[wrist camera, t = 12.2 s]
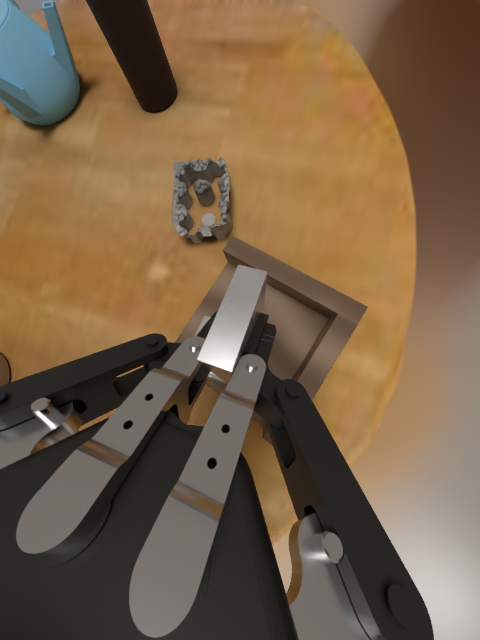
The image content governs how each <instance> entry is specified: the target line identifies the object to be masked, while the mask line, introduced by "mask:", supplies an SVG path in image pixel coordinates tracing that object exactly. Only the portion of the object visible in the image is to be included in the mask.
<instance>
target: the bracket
mask: <svg viewBox="0 0 480 640" xmlns="http://www.w3.org/2000/svg"><path fill="white" fill-rule="evenodd" d="M266 281H267V271H263V270H259V269H254V268H250V267H246V266H242V265H238V267H237V269H236V271H235V273H234V276H233V278H232V280H231V283H230V285H229V287H228V289H227V292H226V294H225V296H224V299H223V301H222V303H221V305H220V308H219V310H218V312H217V315H216V317H215V319H214V321H213V324H212V326H211V328H210V331H209V333H208V335H207V337H206V340H205V342H204V344H203V347H202V349H201V351H200V353H199V356H198V358H197V360H198V361H199V362H201V363H202V364H203V365H204V366H206V367H207V368H208V369H210V370H211V371H210V373H209V375H208V378H211V379H214V380H216V381H219V382H222V383H224V384H227V385H228V383H229V381H230V379H231V376H232V374H233V372H234V370H235V368H236V366H237V364H238V362H239V360H240V358H241V357H242V354H243V350H244V347H245V345H246V343H247V341H248V339H249V336H250V334H251V332H252V330H253V328H254V325H255V323H256V321H257V319H258V316H259V314H260V313H263V309H264V300H265V290H266ZM210 318H211V317H208V316H204V318H203V320H202V322H201V324H200V326H199V329H198V331H197V333H196V335H197V334H198V333H199V331H200V330H201V329H202V328H203V326H204V325H205V324H206V323H207V321H208V320H209V319H210ZM196 335H195V336H196Z"/></svg>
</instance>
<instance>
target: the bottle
mask: <svg viewBox="0 0 480 640" xmlns="http://www.w3.org/2000/svg"><path fill="white" fill-rule="evenodd" d="M86 1H87V3H88V5H89V7H90V9H91V11H92V13H93V15H94V17H95V19H96V21H97V23H98V24H99V26H100V28H101V30H102V32H103V34H104V36H105V38H106V40H107V42H108V44H109V46H110V48H111V50H112V51H113V53H114V55H115V57H116V59H117V61H118V63H119V65H120V67H121V69H122V71H123V73H124V75H125V77H126V78H127V80H128V82H129V84H130V86H131V88H132V90H133V92H134V94H135V96H136V98H137V100H138V102H139V103H140V105H141V107H142V108H144V109H145V110H147V111H150V112H157V111H161V110H163V109H165V108H167V107H168V106H169V105H170V104H171V103H172V102H173V100H174V99H175V96H176V92H177V89H176V83H175V80H174V77H173V74H172V71H171V68H170V66H169V63H168V60H167V57H166V54H165V51H164V48H163V45H162V42H161V39H160V36H159V34H158V31H157V28H156V25H155V22H154V19H153V16H152V13H151V10H150V7H149V5H148V2H147V0H86Z"/></svg>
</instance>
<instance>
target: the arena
mask: <svg viewBox="0 0 480 640" xmlns="http://www.w3.org/2000/svg"><path fill="white" fill-rule="evenodd" d="M223 252H224V254H225V256H226V258H227V261H228V263H227V264H226V266H225V268H224V269H223V271H222V272H221V274H220V275H219V277H218V278H217V280H216V281H215V283H214V284H213V286H212V287H211V289H210V290H209V292H208V293H207V295H206V296H205V298H204V299H203V301H202V302H201V304H200V306H199V307H198V309H197V310H196V312H195V313H194V315H193V316H192V318H191V319H190V321H189V322H188V324H187V325H186V327H185V328H184V330H183V331H182V333H181V334H180V336H179V337H178V339H177V340H176V342H175V343H183V341H184V340H186V339H187V338H190V337H194V336H195V335H196V333H197V331H198V329H199V326H200V324H201V322H202V320H203V318H204V316H208V317H211V316H212V315H213V314H214V313H215V312H216V311H218V310H219V308H220V305H221V303H222V301H223V299H224V296H225V294H226V292H227V289H228V287H229V285H230V283H231V280H232V278H233V276H234V273H235V271H236V269H237V267H238V265H242V266H246V267H250V268H254V269H259V270H263V271H267V281H266V290H265V300H264V309H263V313H264V314H267V315H269V318H268V322H267V323H270V324H273V325H275V327H276V335H275V338H274V342H273V345H272V349H271V352H270V356H269V359H268V367H269V369H270V371H271V372H272V373H273V374H274V375H275V376H276V377H278V378H279V379H281V380H284V379H293V380H295V381H297V382H299V383H300V384H302V385H303V387H304V388H305V389H306V391H307V393H308V395H309V396H310V398H311V400H312V399H313V398H314V396H315V394H316V393H317V391H318V389H319V388H320V386H321V384H322V383H323V381H324V379H325V378H326V376H327V374H328V373H329V371H330V369H331V368H332V366H333V364H334V363H335V361H336V359H337V358H338V356H339V354H340V353H341V351H342V349H343V348H344V346H345V344H346V343H347V341H348V339H349V338H350V336H351V334H352V333H353V331H354V329H355V328H356V326H357V324H358V323H359V321H360V319H361V318H362V316H363V314H364V313H365V311H366V309H367V308H368V307H367V306H365V305H363V304H361V303H359V302H358V301H356V300H354V299H352V298H350V297H348V296H346V295H344V294H342V293H340V292H339V291H337V290H335V289H333V288H331V287H329V286H327V285H325V284H323V283H321V282H320V281H318V280H316V279H314V278H312V277H310V276H308V275H306V274H304V273H302V272H300V271H299V270H297V269H295V268H293V267H291V266H289V265H287V264H285V263H283V262H281V261H280V260H278V259H276V258H274V257H272V256H270V255H268V254H266V253H264V252H262V251H260V250H259V249H257V248H255V247H253V246H251V245H249V244H247V243H245V242H243V241H241V240H240V239H238V238H236V237H234V236H232V237H231V239H230V240H229V242H228V243H227V245H226V246H225V248H224V249H223ZM206 384H207V385H209V386H210V387H211V388H213V389H214V390H215V391H217V392H218V393H220V394H221V393H222V392H224V391H225V389H226V387H227V384H224V383H222V382H219V381H216V380H214V379H211V378H208V380H207V382H206ZM251 417H252V418H254V419H255V420H256V421H258V422H259V423H260V424H262V425H263V438H264V439H265V440H266V441H268V442H269V443H270V444H272V441H271V438H270V435H269V432H268V429H267V426H266V423H265V419H264V418H263V417H261V416H260V415H259V414H258V413H256V412H255V411H254V410H253V413H252V416H251ZM272 445H273V444H272Z"/></svg>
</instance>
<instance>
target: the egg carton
mask: <svg viewBox="0 0 480 640" xmlns="http://www.w3.org/2000/svg"><path fill="white" fill-rule="evenodd" d="M218 176H220V177H221V178H220V180H219V181H218V182H217V183H218V186H219V189H220V192H221V197H222V198H221V200H220V201H219V205H218V206H219V208H220V209H221V219H220V222H219V223H218V224H217V225H214V224H215V222H216V217H215V215H214V214H212V213H206V214H204V215H203V216H202V218H201V224H202V225H203V226H202V227H200V228H199V229H198V230H197V232H195V234H194V235H190V234H188V232H187V231H189V230H190V229H191V228H192V226H193V220H192V218H191V216H190V215H189V213H188V211H187V209H189V208H190V207H191V206H192V199H191V197H190V194H189V192H188V190H187V189H188V188H189V187H190V186H191V184H192V182H193V181H196V182H194V184H193V188H194V191H195V193H196V195H197V197H198V200H199V201H200V203H201V204H202V205H203V206H210V205H211V204H212V203H213V202H214V200H215V196H214V193H213V190H212V187H211V183H212V182H213V179H214V177H218ZM174 178H175V182H174V187H175V188H174V189H173V213H172V223H173V225H174V227H175V229H176V230H177V232H178V234H179V235H180V236H184V235H185V237H186V238H190V239H191V240H192V241H193V243H195V244H198V243H199V244H200V243H201V242H202V239H203V238H204V237H205V236H212V235H215V236H216V238H217V240H224V239H225V236H226V234H227V233H228V232H230V231H231V230H232V220H231V219H230V216H229V214H228V213H226V211H227V210H229V209H231V208H230V200H229V190H230V181H229V176H228V172H227V167H226V164H225V161H224V159H223V158H220V159H219V161H212V160H211V159H210V158H208V159H207V160H205V161H203V160H197V161H194V160H190V162H188V163H185V162H174ZM213 225H214V226H213ZM211 226H213V227H212V228H211Z"/></svg>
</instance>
